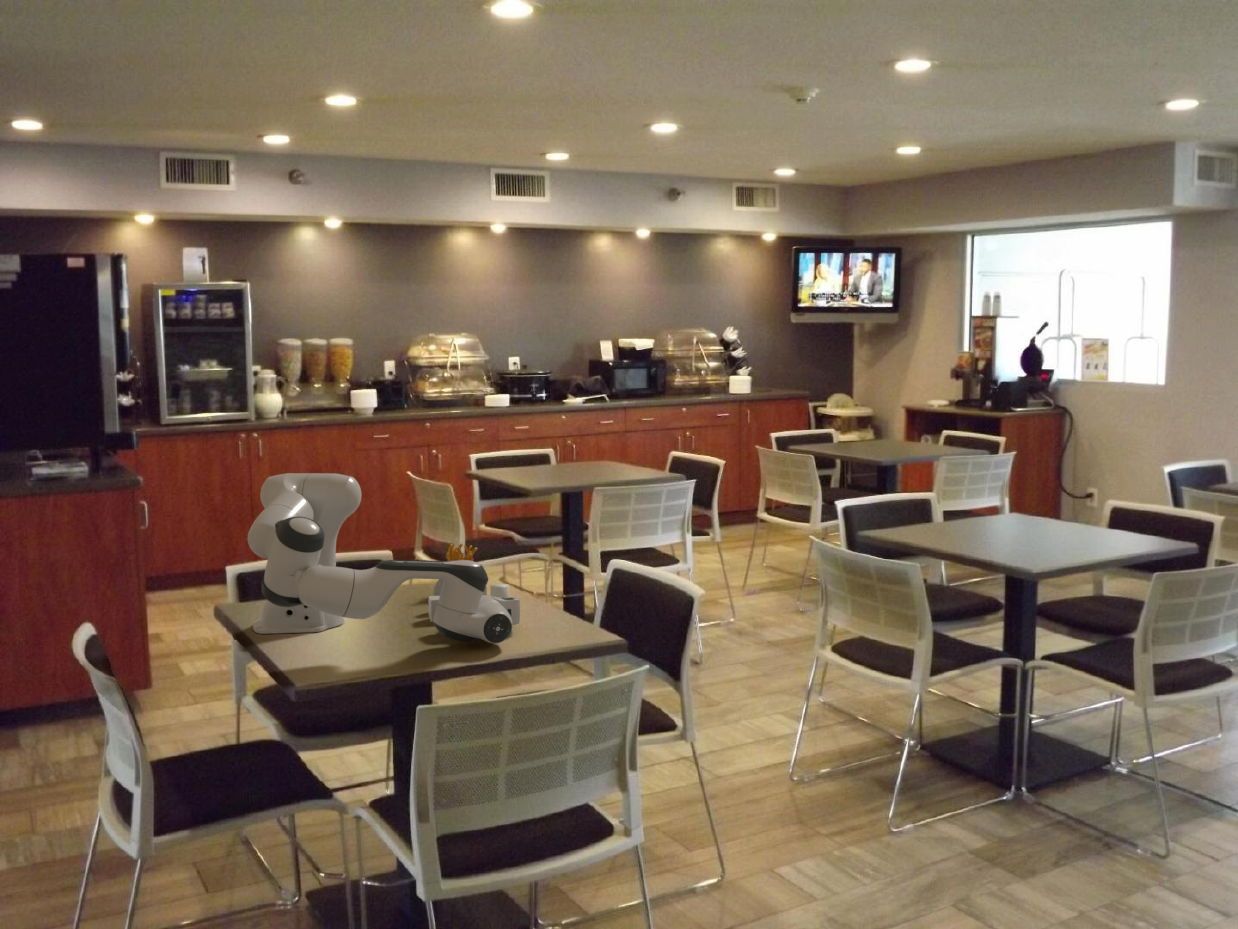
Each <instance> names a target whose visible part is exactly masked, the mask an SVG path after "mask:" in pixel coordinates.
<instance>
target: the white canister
mask: <svg viewBox="0 0 1238 929" xmlns="http://www.w3.org/2000/svg"><path fill="white" fill-rule="evenodd" d="M489 588H490V589H489V590H490V596H492V597H493V596H494V597H500V598H507V597H511V596H510V595H511V594H510V593H511V592H510V584H508V583H494V584H493V583H492V584H491V585H489Z"/></svg>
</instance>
